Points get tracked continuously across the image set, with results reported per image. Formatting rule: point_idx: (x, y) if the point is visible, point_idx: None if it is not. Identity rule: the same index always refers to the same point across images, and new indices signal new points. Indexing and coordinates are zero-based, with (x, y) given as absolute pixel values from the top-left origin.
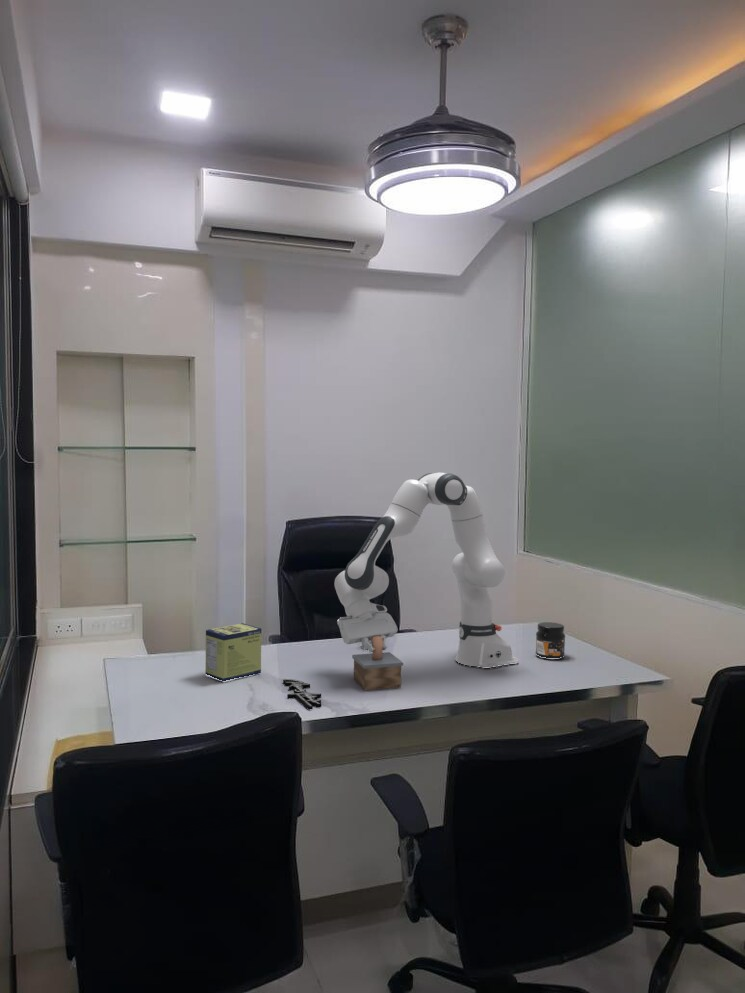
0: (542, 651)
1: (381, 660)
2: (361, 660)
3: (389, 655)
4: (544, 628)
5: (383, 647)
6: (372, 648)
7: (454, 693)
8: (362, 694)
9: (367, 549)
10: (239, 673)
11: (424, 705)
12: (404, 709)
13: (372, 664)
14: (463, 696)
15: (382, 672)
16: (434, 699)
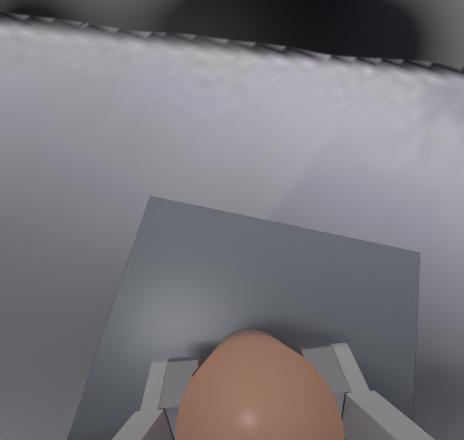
0: None
1: (248, 307)
2: (390, 385)
3: (114, 404)
4: None
5: (197, 356)
6: (340, 349)
7: (69, 101)
8: (380, 239)
9: None
10: None
11: (233, 56)
12: (311, 54)
13: (356, 249)
14: (69, 69)
15: None
16: (169, 84)
